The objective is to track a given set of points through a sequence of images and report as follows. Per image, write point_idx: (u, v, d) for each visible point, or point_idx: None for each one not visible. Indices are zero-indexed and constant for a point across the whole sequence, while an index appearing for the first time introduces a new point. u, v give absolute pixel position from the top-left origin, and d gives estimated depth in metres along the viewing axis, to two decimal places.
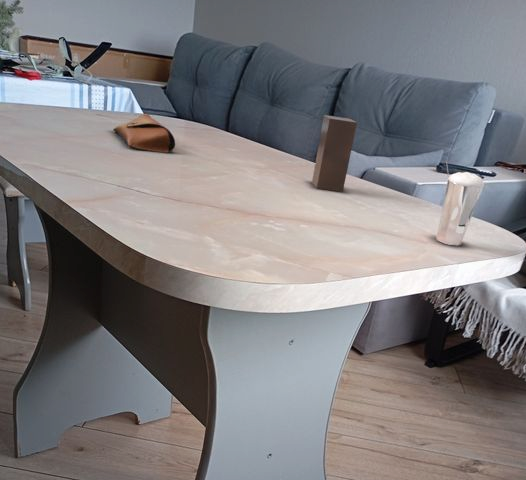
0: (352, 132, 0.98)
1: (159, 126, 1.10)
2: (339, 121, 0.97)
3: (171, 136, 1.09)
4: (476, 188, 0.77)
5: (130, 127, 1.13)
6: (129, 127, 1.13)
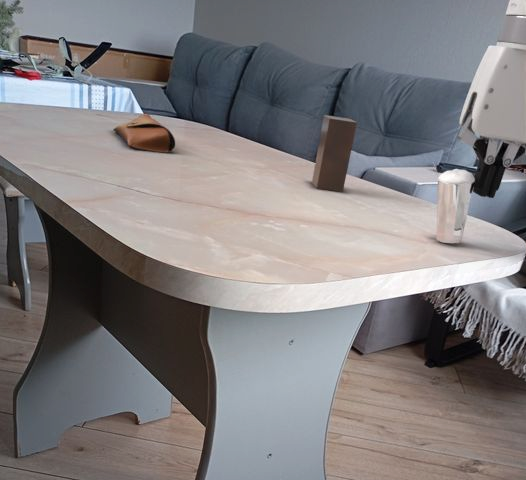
0: (352, 132, 0.98)
1: (159, 126, 1.10)
2: (339, 121, 0.97)
3: (171, 136, 1.09)
4: (466, 184, 0.77)
5: (130, 127, 1.13)
6: (129, 127, 1.13)
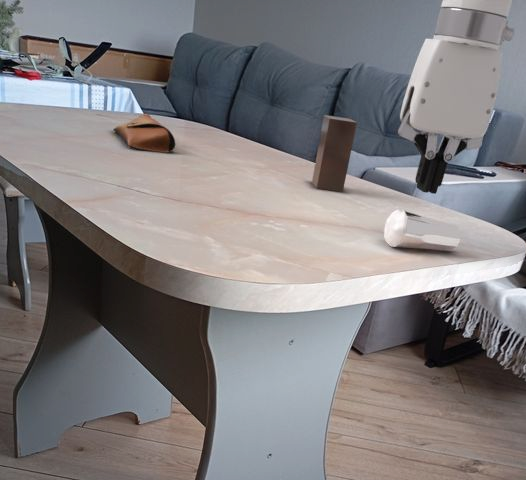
0: (352, 132, 0.98)
1: (159, 126, 1.10)
2: (339, 121, 0.97)
3: (171, 136, 1.09)
4: None
5: (130, 127, 1.13)
6: (129, 127, 1.13)
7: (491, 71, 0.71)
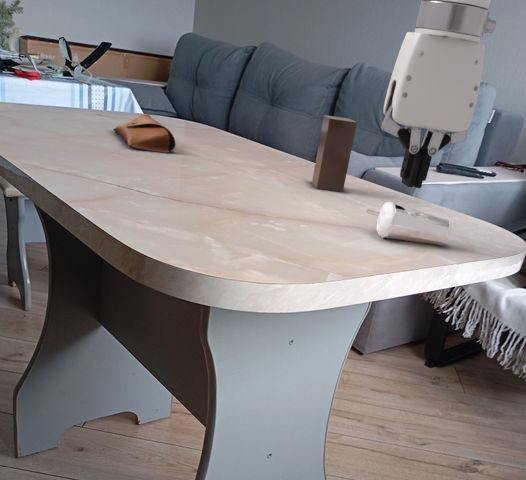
0: (352, 132, 0.98)
1: (159, 126, 1.10)
2: (339, 121, 0.97)
3: (171, 136, 1.09)
4: (387, 235, 0.78)
5: (130, 127, 1.13)
6: (129, 127, 1.13)
7: (473, 64, 0.71)
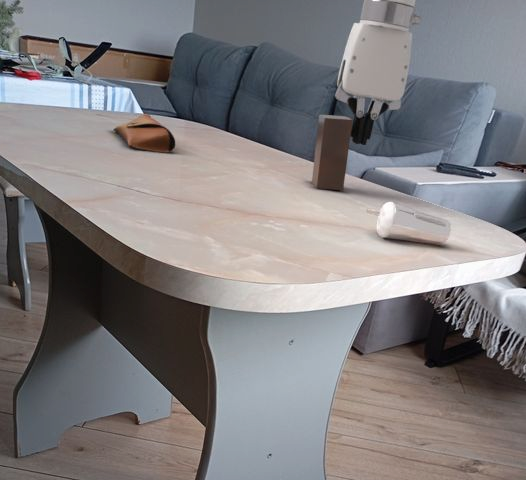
0: (348, 130, 0.98)
1: (159, 126, 1.10)
2: (334, 120, 0.97)
3: (171, 136, 1.09)
4: (387, 235, 0.78)
5: (130, 127, 1.13)
6: (129, 127, 1.13)
7: (403, 48, 0.93)
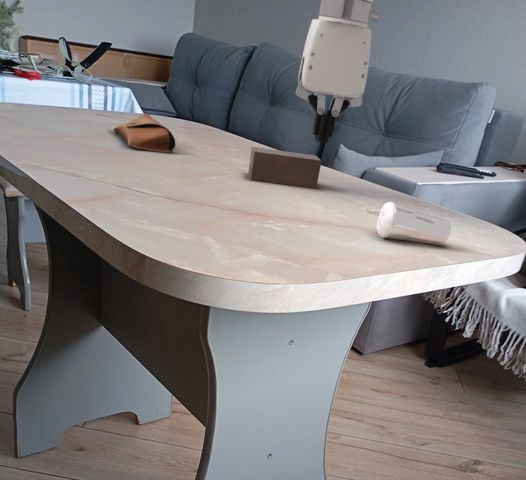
0: (263, 155, 0.98)
1: (159, 126, 1.10)
2: (253, 169, 0.99)
3: (171, 136, 1.09)
4: (387, 235, 0.78)
5: (130, 127, 1.13)
6: (129, 127, 1.13)
7: (362, 44, 0.92)
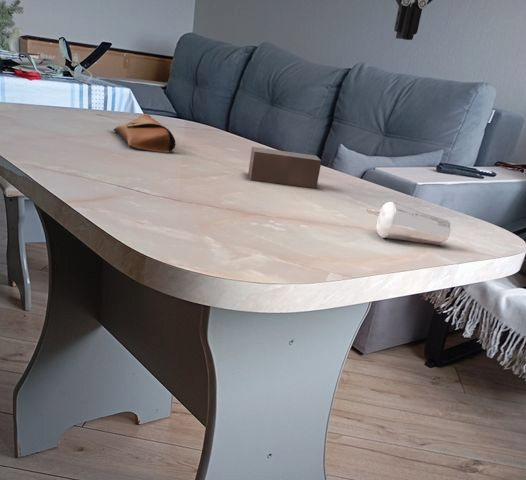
0: (263, 155, 0.98)
1: (159, 126, 1.10)
2: (253, 170, 0.99)
3: (171, 136, 1.09)
4: (387, 235, 0.78)
5: (130, 127, 1.13)
6: (129, 127, 1.13)
7: None
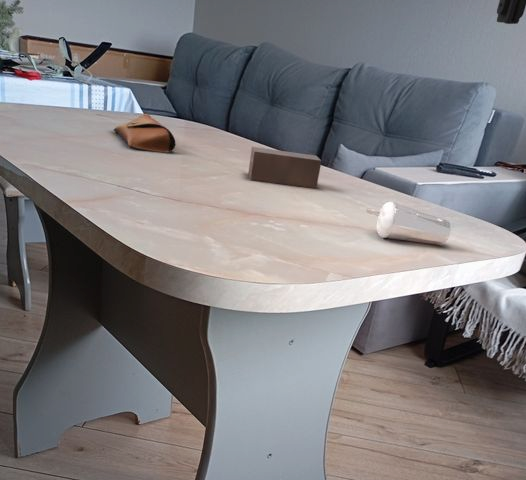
0: (263, 155, 0.98)
1: (159, 126, 1.10)
2: (253, 170, 0.99)
3: (171, 136, 1.09)
4: (387, 235, 0.78)
5: (130, 127, 1.13)
6: (129, 127, 1.13)
7: None
